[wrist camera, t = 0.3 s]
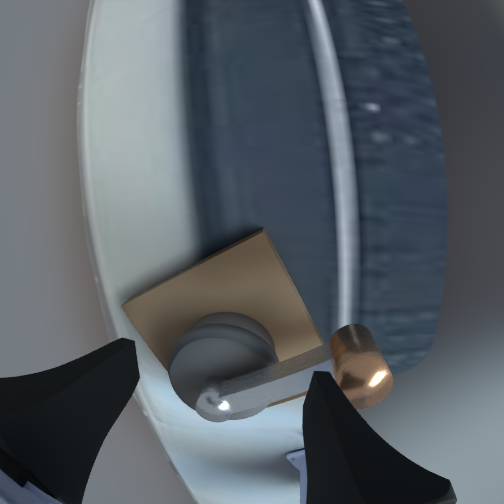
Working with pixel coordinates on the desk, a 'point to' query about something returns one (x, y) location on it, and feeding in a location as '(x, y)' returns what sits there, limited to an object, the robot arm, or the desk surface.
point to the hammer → (304, 377)
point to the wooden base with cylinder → (225, 318)
